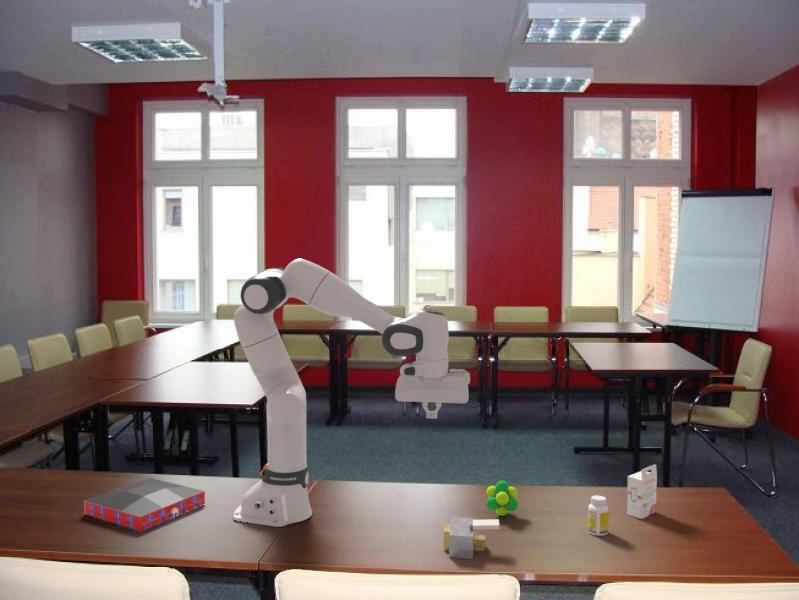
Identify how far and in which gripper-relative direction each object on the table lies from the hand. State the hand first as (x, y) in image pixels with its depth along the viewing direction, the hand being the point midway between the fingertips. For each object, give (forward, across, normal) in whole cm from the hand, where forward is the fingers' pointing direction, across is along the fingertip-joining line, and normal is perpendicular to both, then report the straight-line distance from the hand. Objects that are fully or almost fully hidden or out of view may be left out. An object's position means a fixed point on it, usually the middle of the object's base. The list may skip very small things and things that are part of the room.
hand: (431, 417), depth 196 cm
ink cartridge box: (+32, -61, -19) cm, 71 cm away
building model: (+32, +84, -2) cm, 90 cm away
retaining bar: (+25, -11, +12) cm, 30 cm away
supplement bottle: (+31, -46, -3) cm, 56 cm away
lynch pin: (+31, -10, +12) cm, 35 cm away
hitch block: (+31, -9, +12) cm, 35 cm away
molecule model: (+31, -20, -12) cm, 39 cm away
